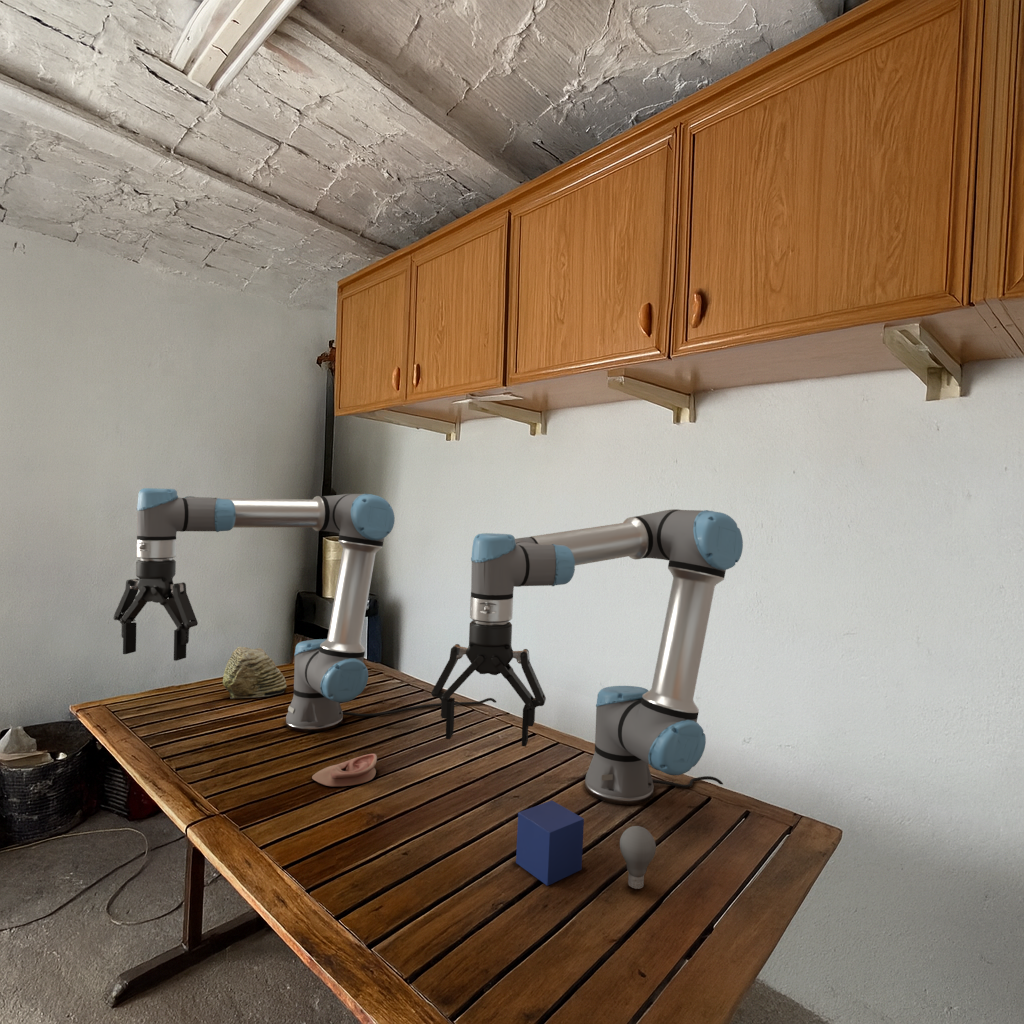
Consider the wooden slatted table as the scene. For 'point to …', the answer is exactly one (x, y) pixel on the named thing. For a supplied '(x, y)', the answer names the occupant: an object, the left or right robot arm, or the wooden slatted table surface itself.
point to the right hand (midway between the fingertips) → (486, 740)
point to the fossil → (252, 674)
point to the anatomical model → (348, 772)
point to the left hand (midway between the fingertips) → (154, 656)
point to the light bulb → (637, 853)
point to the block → (549, 842)
